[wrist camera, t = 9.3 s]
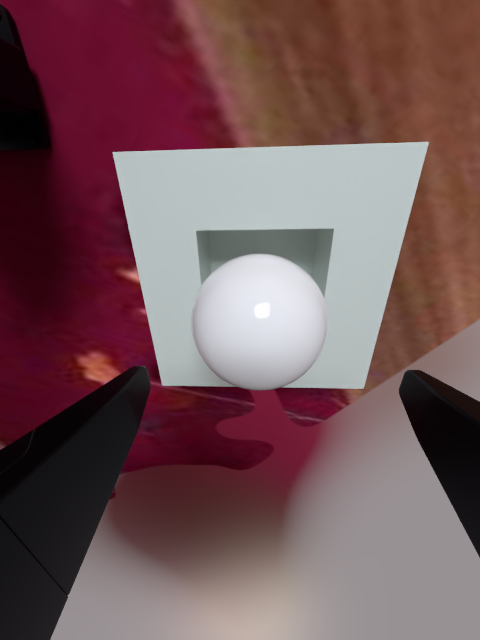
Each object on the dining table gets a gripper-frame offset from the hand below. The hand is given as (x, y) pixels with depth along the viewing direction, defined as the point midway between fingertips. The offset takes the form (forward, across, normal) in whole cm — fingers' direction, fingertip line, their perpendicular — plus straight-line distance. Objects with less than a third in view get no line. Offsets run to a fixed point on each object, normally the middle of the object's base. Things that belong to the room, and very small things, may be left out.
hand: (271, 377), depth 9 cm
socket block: (+13, 0, 0) cm, 13 cm away
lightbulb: (+12, 0, 0) cm, 12 cm away
